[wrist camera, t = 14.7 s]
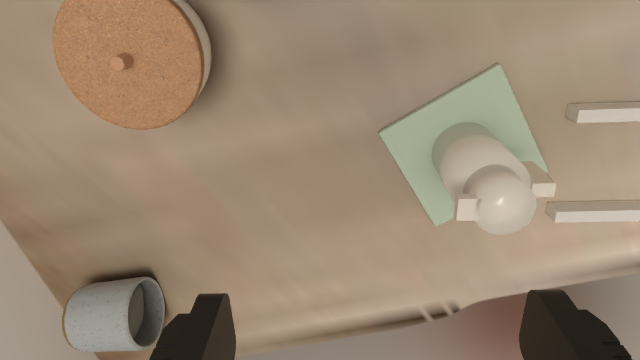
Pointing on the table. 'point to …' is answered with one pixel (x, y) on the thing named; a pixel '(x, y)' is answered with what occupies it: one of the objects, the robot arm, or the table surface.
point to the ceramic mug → (114, 315)
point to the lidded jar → (132, 58)
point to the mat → (445, 111)
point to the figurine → (488, 179)
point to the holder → (598, 209)
